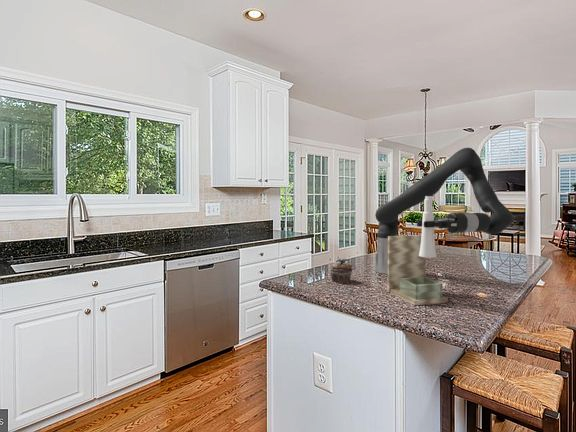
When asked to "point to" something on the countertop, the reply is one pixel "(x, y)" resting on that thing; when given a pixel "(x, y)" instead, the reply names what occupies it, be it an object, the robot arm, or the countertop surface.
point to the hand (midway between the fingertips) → (421, 223)
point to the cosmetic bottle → (427, 231)
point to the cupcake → (341, 271)
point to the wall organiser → (410, 272)
